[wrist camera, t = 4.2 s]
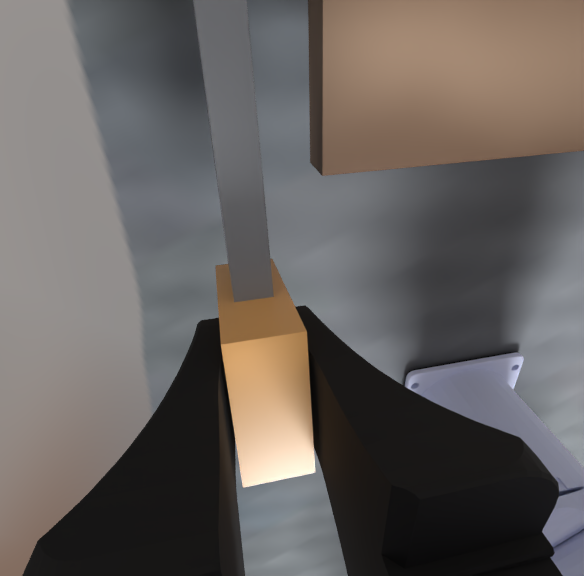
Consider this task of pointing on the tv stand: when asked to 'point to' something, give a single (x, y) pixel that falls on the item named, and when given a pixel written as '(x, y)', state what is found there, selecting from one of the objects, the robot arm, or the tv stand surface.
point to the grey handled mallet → (252, 267)
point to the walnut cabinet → (443, 81)
